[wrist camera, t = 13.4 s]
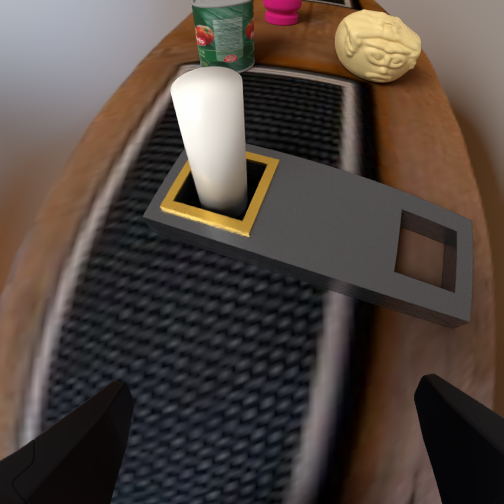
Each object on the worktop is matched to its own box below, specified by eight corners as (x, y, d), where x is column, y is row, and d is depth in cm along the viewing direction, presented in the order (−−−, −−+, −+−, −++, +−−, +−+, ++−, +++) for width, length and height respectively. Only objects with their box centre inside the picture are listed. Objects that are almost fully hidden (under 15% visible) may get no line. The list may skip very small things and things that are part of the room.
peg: (250, 218, 26) (245, 99, 15) (201, 223, 26) (167, 109, 14) (245, 180, 28) (239, 63, 16) (200, 184, 28) (173, 71, 16)
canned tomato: (266, 63, 37) (266, -4, 27) (221, 81, 35) (214, 9, 25) (232, 47, 40) (228, -12, 30) (190, 64, 38) (179, 1, 28)
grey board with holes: (459, 232, 25) (473, 219, 23) (453, 328, 21) (471, 321, 19) (198, 150, 29) (194, 130, 27) (151, 231, 26) (141, 214, 23)
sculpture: (338, 86, 35) (352, 18, 25) (326, 48, 40) (333, -7, 30) (413, 99, 34) (436, 40, 24) (390, 60, 39) (404, 9, 29)
